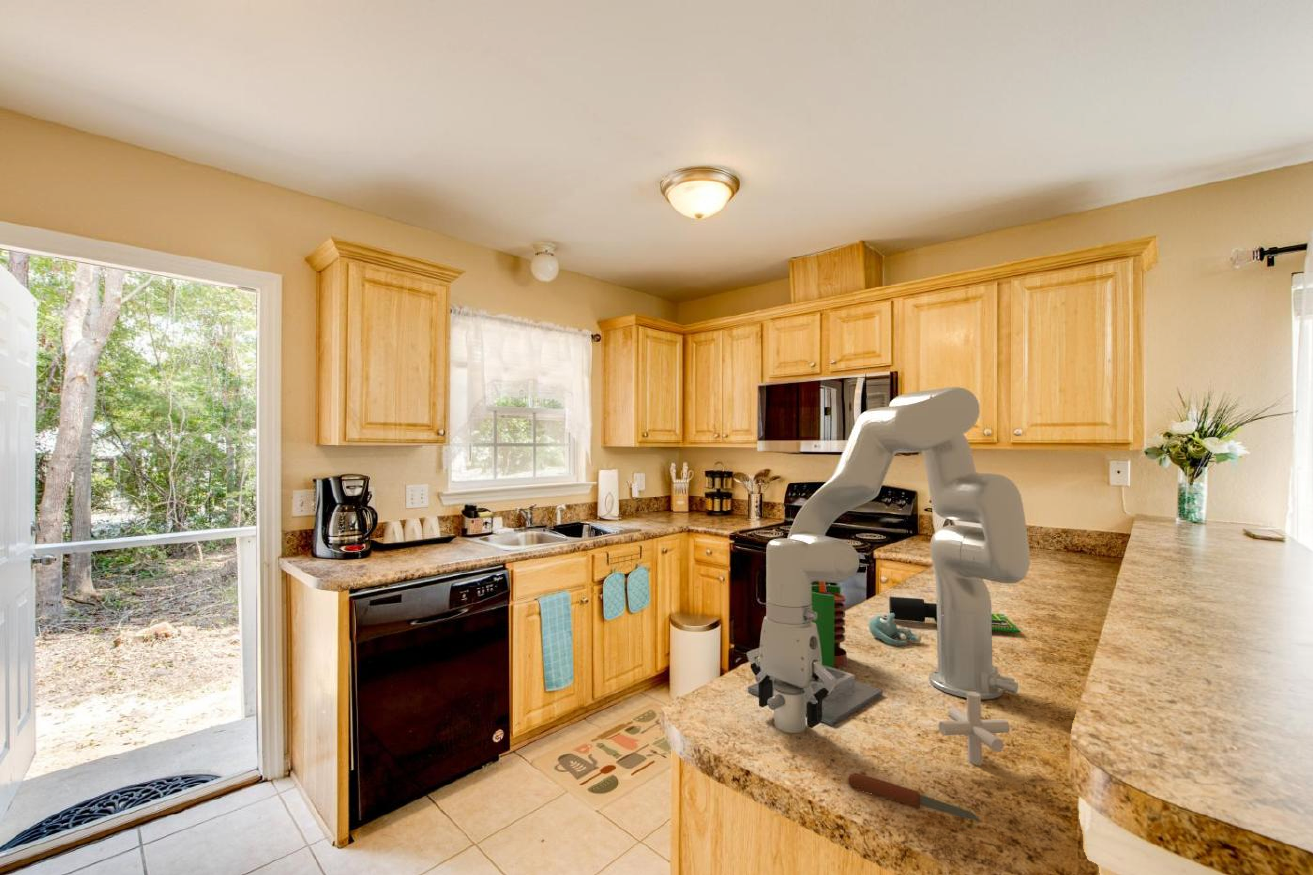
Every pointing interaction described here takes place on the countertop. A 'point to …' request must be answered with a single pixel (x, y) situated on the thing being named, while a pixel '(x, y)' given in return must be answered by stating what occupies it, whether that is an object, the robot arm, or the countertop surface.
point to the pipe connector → (975, 728)
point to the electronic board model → (935, 613)
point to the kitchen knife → (904, 795)
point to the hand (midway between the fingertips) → (789, 714)
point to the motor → (829, 622)
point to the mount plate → (839, 696)
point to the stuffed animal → (891, 630)
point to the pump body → (788, 707)
